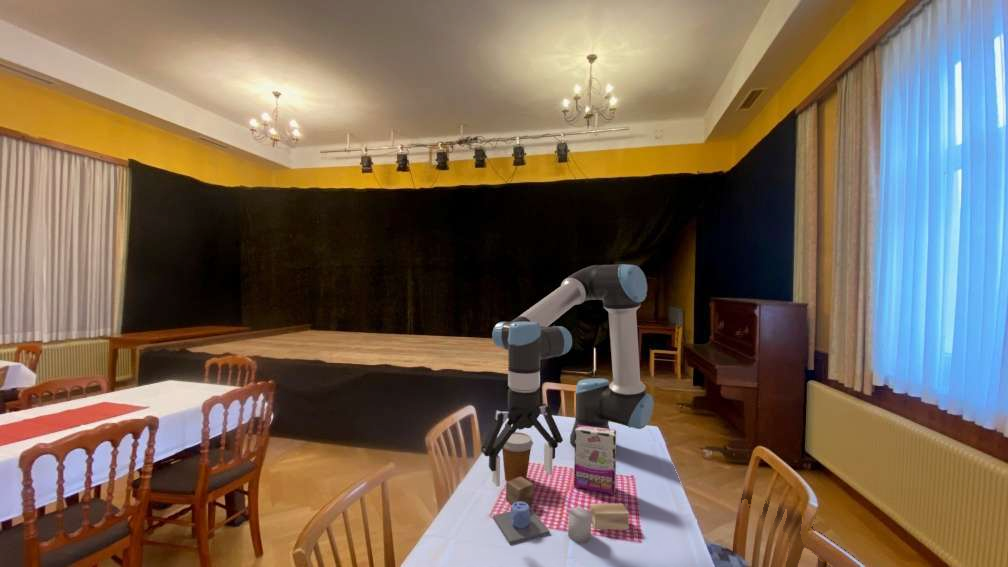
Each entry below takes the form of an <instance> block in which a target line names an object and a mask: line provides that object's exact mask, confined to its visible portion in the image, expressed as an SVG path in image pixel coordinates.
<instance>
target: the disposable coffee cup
mask: <svg viewBox="0 0 1008 567" xmlns="http://www.w3.org/2000/svg"><path fill="white" fill-rule="evenodd" d="M533 444H534V442H533V439H532V437H531V436H530V435H529V434H528V433H525V432H519V431H515V433H513V434H512V435H511V436H510V438H509V439H508V441H507V442H506V444H505V445H504V446H503V448H502V449H501V450H502V460H503V463H502V464H503V470H504V471H503V472H504V480H505V482H507V481H510V480H512V479H515V478H518V477H520V476H521V477H523V478H524V479H526V480H528V479H527V477H528V471H529V464H530V457H531V451H532V450H531V449H532V447H533Z"/></svg>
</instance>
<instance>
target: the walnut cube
mask: <svg viewBox="0 0 1008 567" xmlns="http://www.w3.org/2000/svg"><path fill="white" fill-rule="evenodd" d="M505 482H506V486H505V488H506V489H505V502H507V503H508V502H509V503H508V504H510V505H511V506H512V505H513V504H514V503H515V502H525V503H527V504H528V505H529V504H530V505H532V504H533V503H534V483H532V482H531V481H530V480H528V479H524V478H523V477H521V476H520V477H518V478H515V479H512V480H510V481H505ZM531 503H532V504H531ZM530 505H529V506H530Z"/></svg>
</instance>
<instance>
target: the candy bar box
mask: <svg viewBox="0 0 1008 567" xmlns="http://www.w3.org/2000/svg"><path fill="white" fill-rule="evenodd" d="M573 462H574V464H573V465H574V467H573V468H574V470H573V472H574V473H573V474H574V475H573V487H574V488H575V489H581V490H585V491H589V492H595V493H600V494H603V495H604V494H606V495H610V496H615V492H616V483H617V482H616V481H617V479H616V478H617V477H616V476H617V474H616V473H617V470H616V468H617V466H616V465H617V429H612V428H610V429H606V428H599V427H591V426H584V425H577V428H576V429H575V447H574V461H573Z"/></svg>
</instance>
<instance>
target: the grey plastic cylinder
mask: <svg viewBox="0 0 1008 567" xmlns="http://www.w3.org/2000/svg"><path fill="white" fill-rule="evenodd" d="M567 524H568V526H567V527H568V530H567V535H568V538H569V539H570V540H571V541H573V542H574V543H576V544H587V543H588V542H590V541H591V538H592V537H591V536H592V523H591V513H590V510H588V509H586V508H584V507H572V508H570V509H569V511H568V523H567Z"/></svg>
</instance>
